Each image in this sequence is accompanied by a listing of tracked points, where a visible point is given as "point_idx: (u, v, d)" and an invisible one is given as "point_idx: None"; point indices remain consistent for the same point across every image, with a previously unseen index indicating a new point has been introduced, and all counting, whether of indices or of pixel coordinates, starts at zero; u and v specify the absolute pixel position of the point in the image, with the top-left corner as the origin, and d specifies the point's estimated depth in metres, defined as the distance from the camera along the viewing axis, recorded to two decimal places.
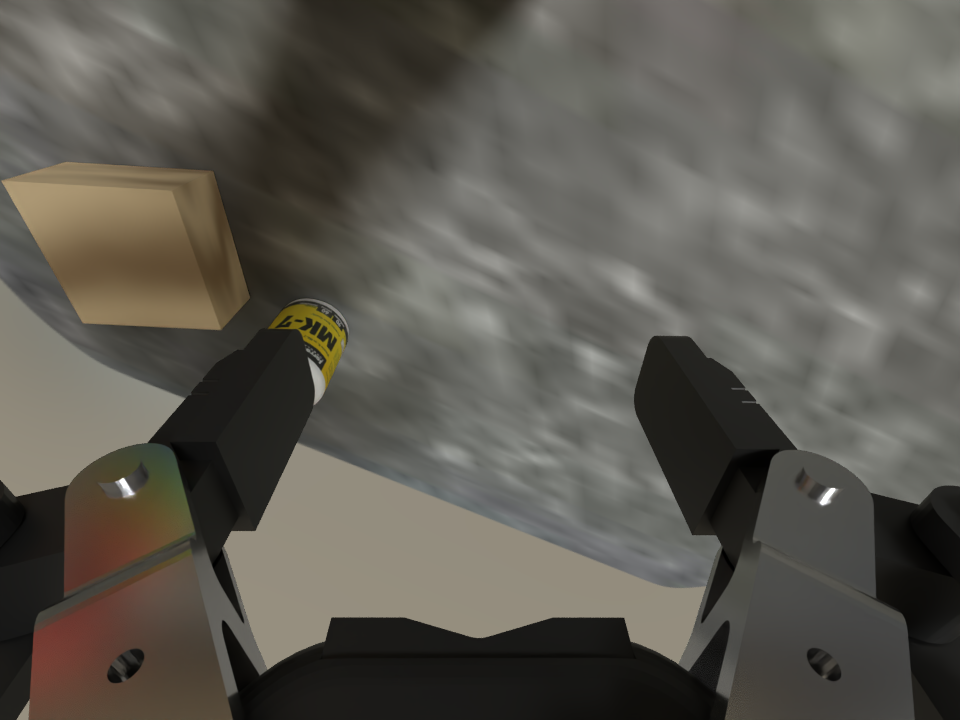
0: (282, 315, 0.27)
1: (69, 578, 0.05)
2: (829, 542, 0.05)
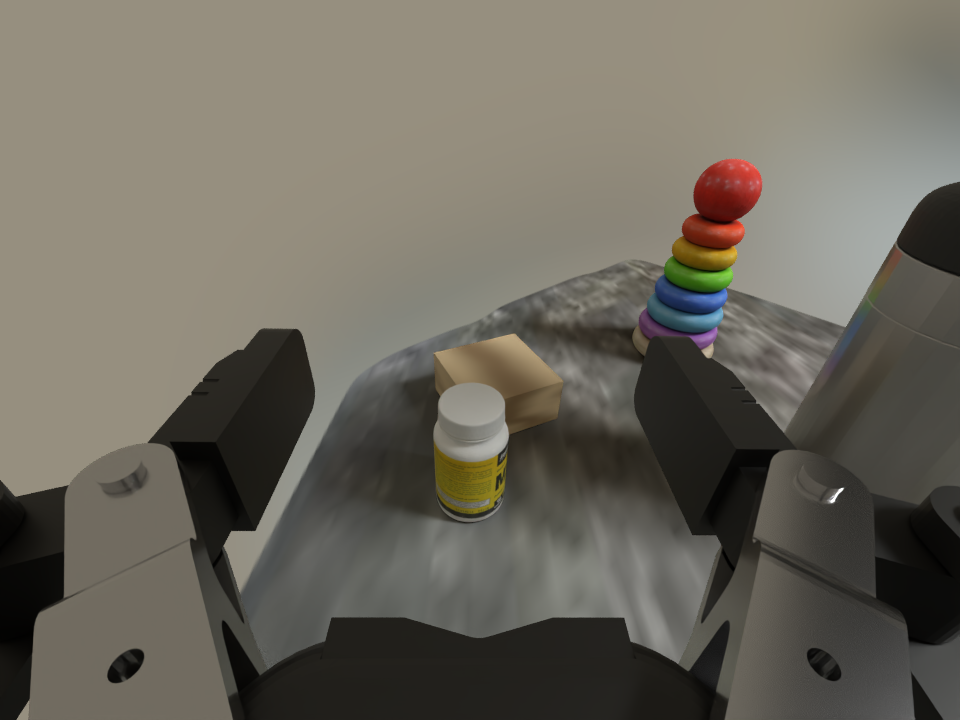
0: None
1: (68, 578, 0.05)
2: (829, 542, 0.05)
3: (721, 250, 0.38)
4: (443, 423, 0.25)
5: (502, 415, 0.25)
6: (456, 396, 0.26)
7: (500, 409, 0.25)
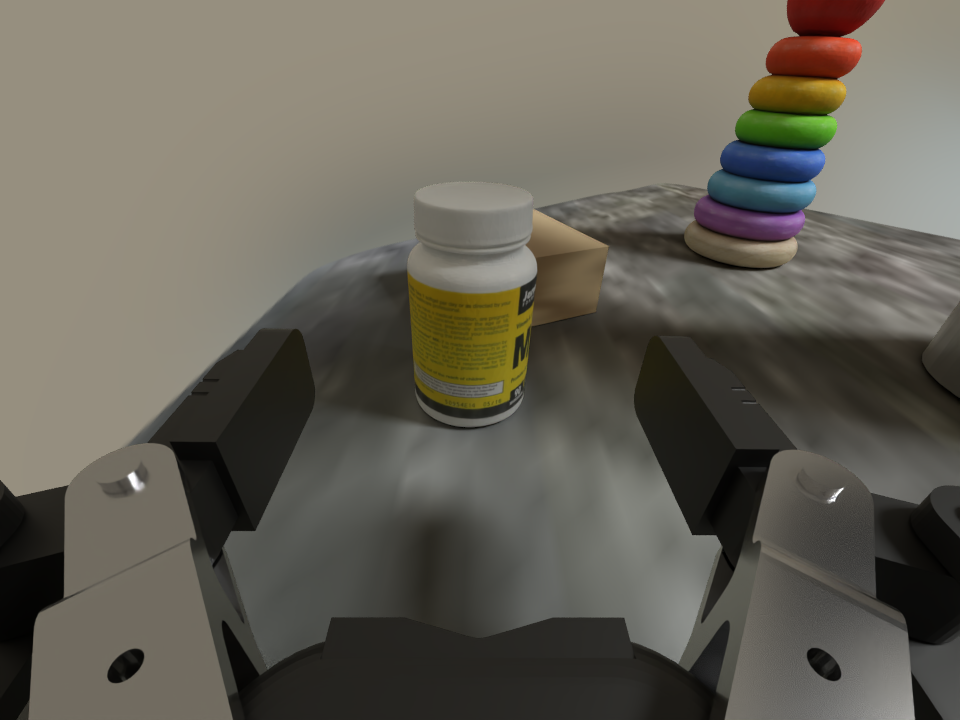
0: None
1: (69, 578, 0.05)
2: (830, 542, 0.05)
3: (828, 79, 0.27)
4: (421, 221, 0.14)
5: (529, 210, 0.14)
6: (447, 189, 0.15)
7: (526, 199, 0.14)
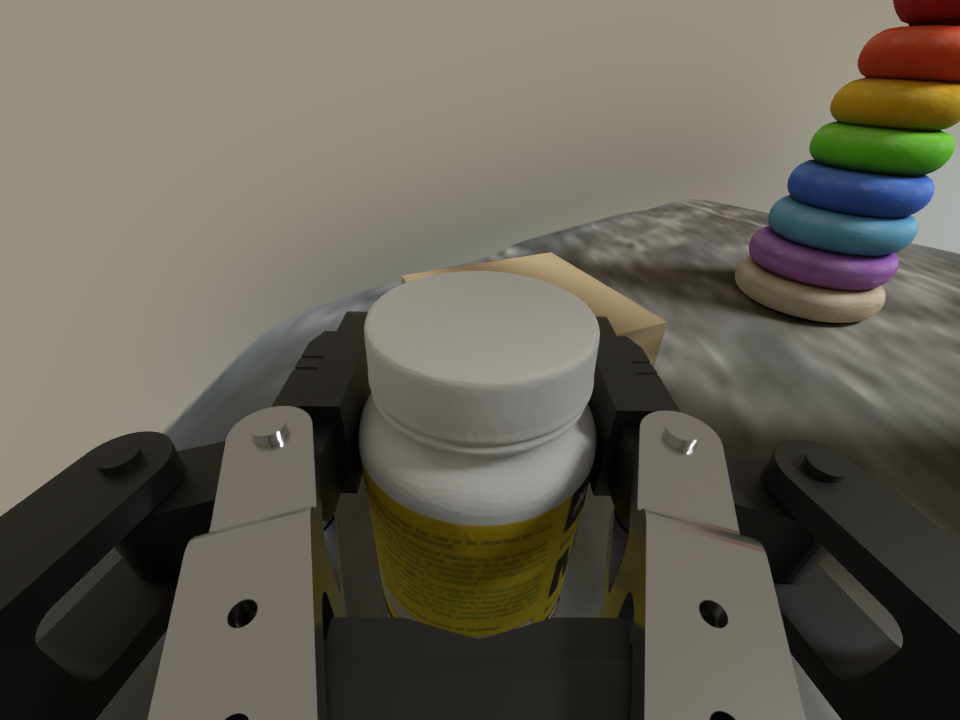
0: None
1: (216, 512, 0.05)
2: (696, 490, 0.06)
3: (952, 84, 0.20)
4: (377, 381, 0.07)
5: (595, 356, 0.07)
6: (431, 298, 0.08)
7: (588, 334, 0.07)
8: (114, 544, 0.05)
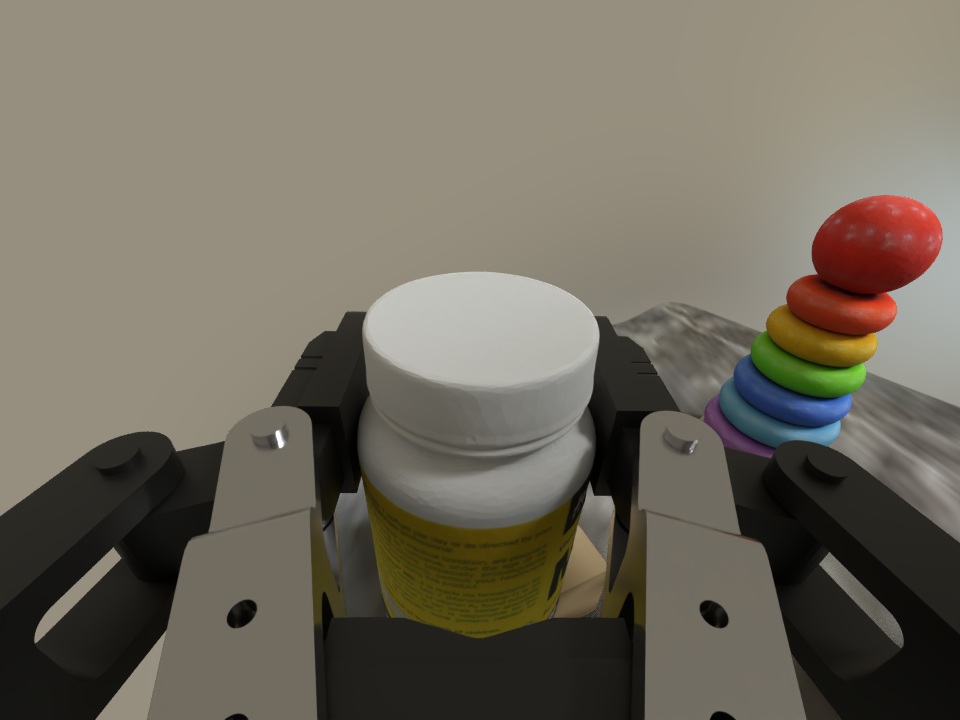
0: None
1: (215, 513, 0.05)
2: (697, 491, 0.06)
3: (858, 337, 0.24)
4: (376, 382, 0.07)
5: (595, 357, 0.07)
6: (430, 300, 0.08)
7: (588, 335, 0.07)
8: (113, 544, 0.05)
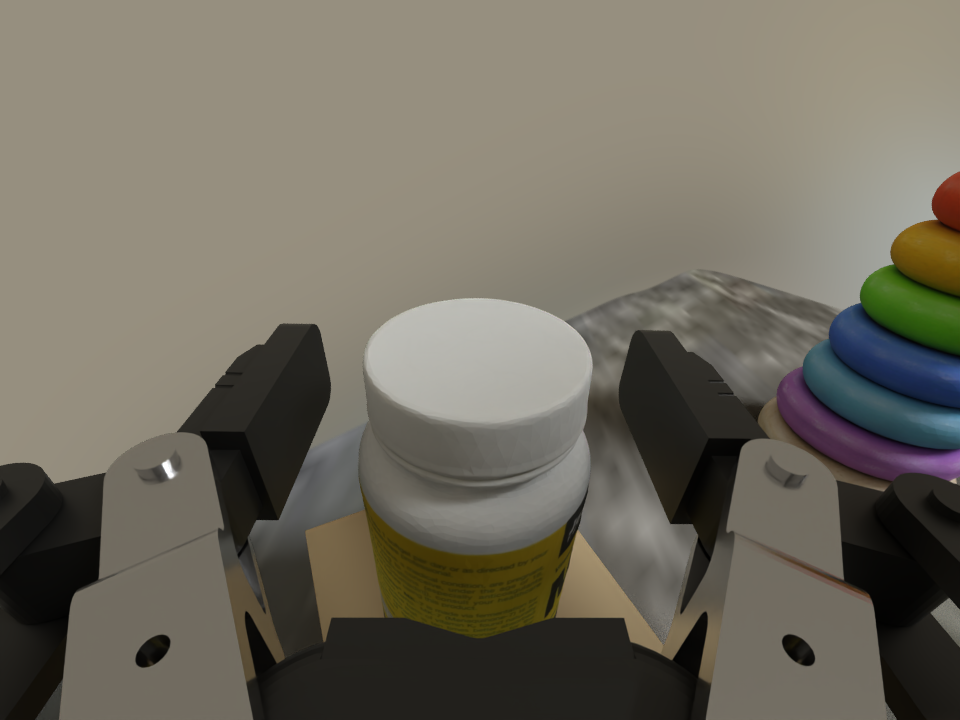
0: None
1: (104, 559, 0.05)
2: (798, 527, 0.05)
3: None
4: (376, 415, 0.07)
5: (588, 389, 0.07)
6: (428, 329, 0.08)
7: (581, 367, 0.07)
8: None
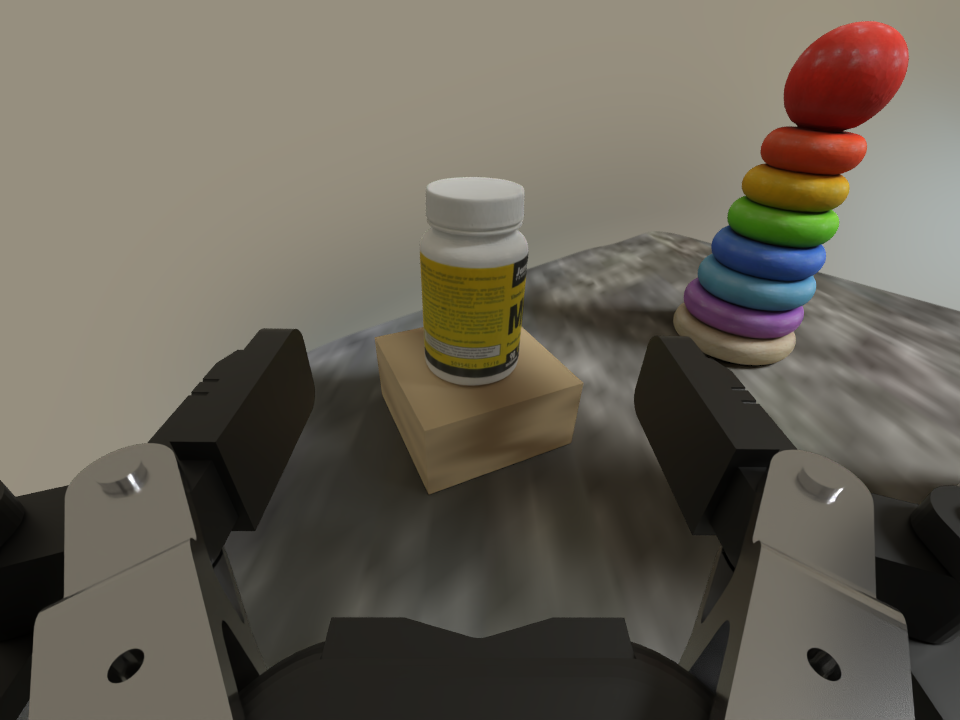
0: None
1: (69, 578, 0.05)
2: (829, 542, 0.05)
3: (829, 177, 0.24)
4: (433, 209, 0.17)
5: (521, 200, 0.17)
6: (453, 183, 0.18)
7: (518, 191, 0.17)
8: None
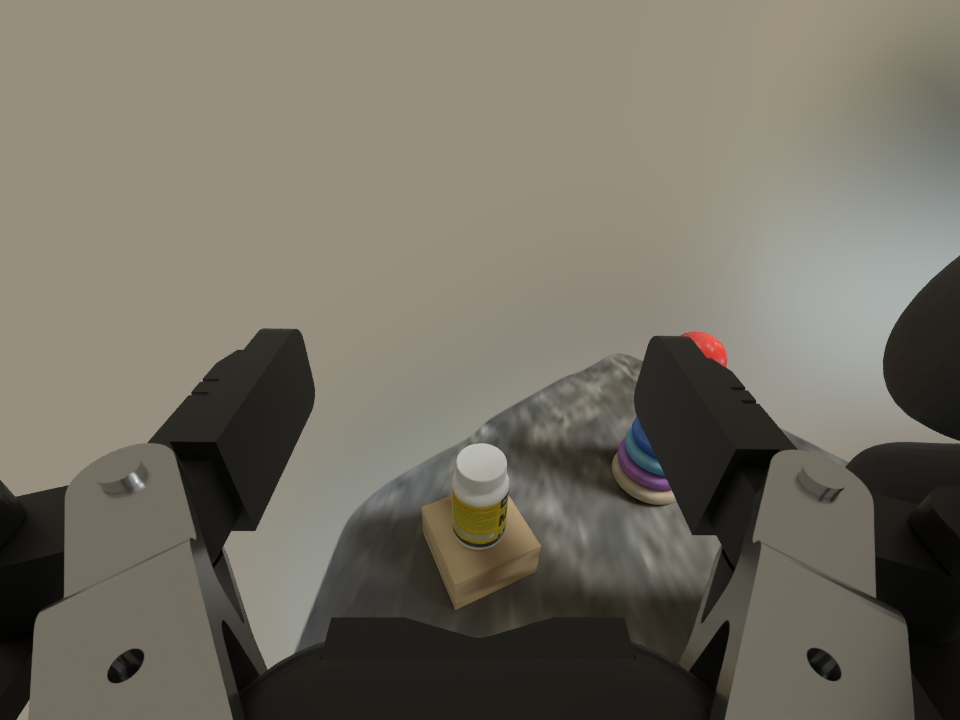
0: None
1: (69, 578, 0.05)
2: (829, 542, 0.05)
3: None
4: (460, 477, 0.33)
5: (504, 472, 0.33)
6: (469, 455, 0.34)
7: (503, 467, 0.33)
8: None
